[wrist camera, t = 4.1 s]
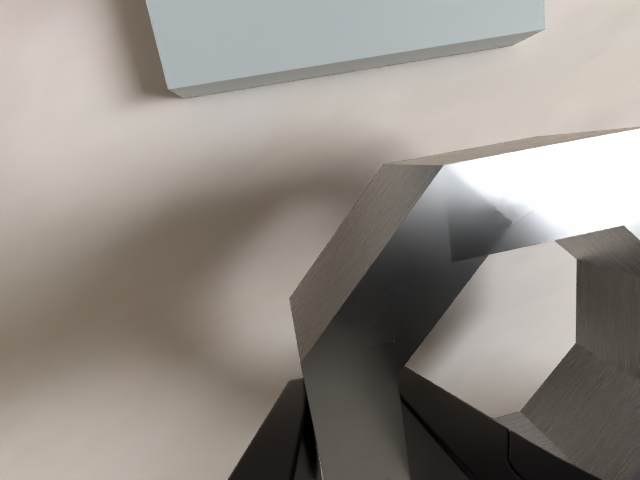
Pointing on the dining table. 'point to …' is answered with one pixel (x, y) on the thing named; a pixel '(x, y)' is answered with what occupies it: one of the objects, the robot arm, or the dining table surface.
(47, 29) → the dining table surface
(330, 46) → the piston base
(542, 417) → the steel ring
